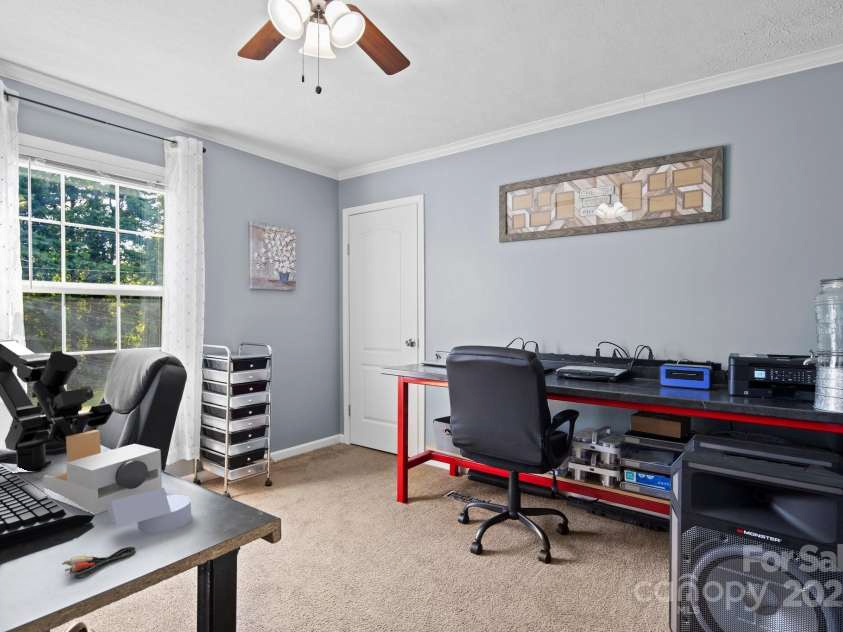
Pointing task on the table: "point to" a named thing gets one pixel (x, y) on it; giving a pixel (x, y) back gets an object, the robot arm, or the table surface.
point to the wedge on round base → (151, 511)
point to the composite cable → (95, 562)
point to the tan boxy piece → (81, 447)
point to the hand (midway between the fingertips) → (81, 450)
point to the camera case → (109, 477)
